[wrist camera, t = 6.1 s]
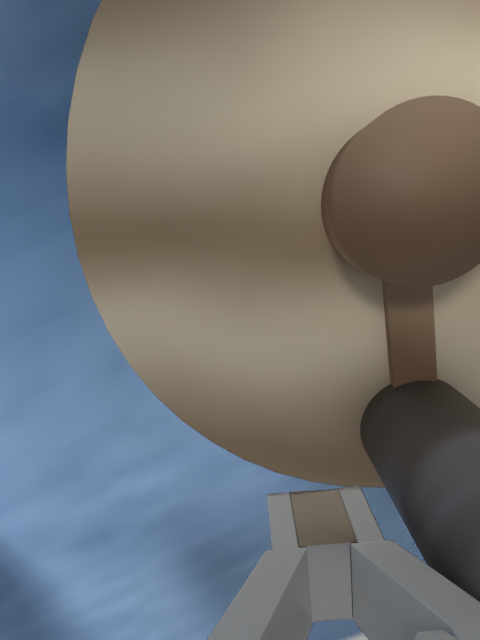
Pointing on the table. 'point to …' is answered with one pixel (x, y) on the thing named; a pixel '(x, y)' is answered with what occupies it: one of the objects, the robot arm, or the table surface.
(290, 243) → the tan disc with handle
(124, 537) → the table surface
